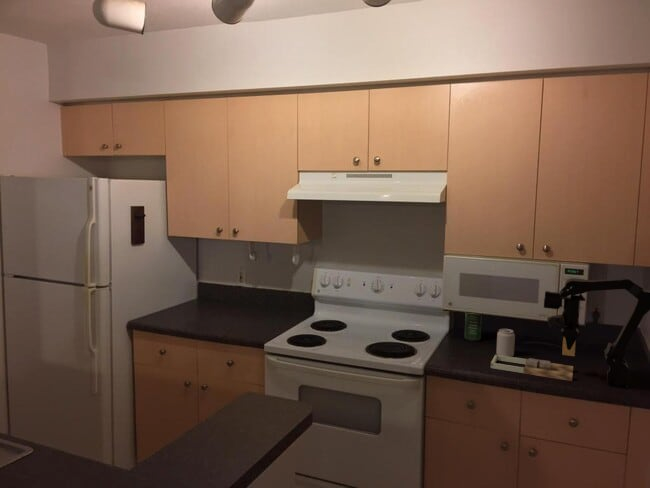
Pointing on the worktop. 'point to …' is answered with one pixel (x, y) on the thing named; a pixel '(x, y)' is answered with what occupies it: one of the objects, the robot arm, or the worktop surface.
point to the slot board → (552, 371)
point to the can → (505, 342)
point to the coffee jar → (473, 326)
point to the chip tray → (508, 367)
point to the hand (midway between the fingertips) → (569, 348)
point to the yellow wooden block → (565, 350)
